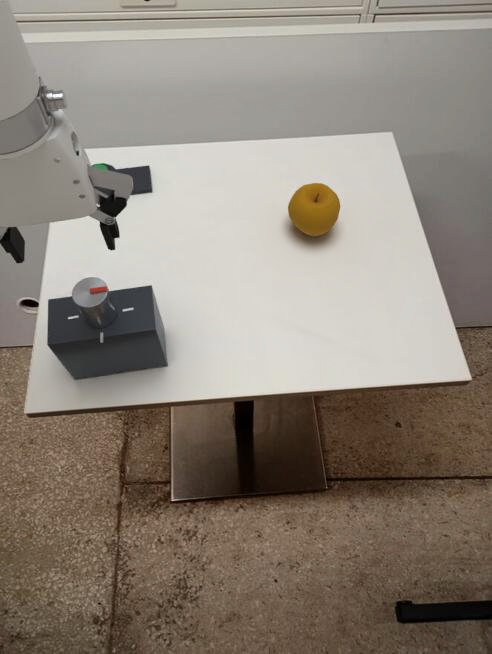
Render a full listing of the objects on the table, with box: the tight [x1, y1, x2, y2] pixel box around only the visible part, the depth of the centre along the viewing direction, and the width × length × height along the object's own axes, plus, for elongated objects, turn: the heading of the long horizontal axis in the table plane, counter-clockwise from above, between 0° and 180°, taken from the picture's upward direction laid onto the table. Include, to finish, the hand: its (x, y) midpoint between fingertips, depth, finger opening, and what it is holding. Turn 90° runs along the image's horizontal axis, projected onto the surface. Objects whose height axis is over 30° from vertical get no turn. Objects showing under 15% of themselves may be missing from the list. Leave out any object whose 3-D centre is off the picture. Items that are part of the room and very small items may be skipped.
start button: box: [92, 163, 108, 170], centre depth 91 cm, size 4×4×2 cm
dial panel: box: [46, 284, 169, 381], centre depth 72 cm, size 14×9×12 cm, turn 100°
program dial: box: [71, 276, 117, 328], centre depth 64 cm, size 4×4×6 cm
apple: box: [287, 182, 341, 237], centre depth 85 cm, size 8×8×9 cm
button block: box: [91, 162, 153, 196], centre depth 92 cm, size 12×6×2 cm, turn 100°
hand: (66, 246), depth 54 cm, fingers open, 9 cm apart
